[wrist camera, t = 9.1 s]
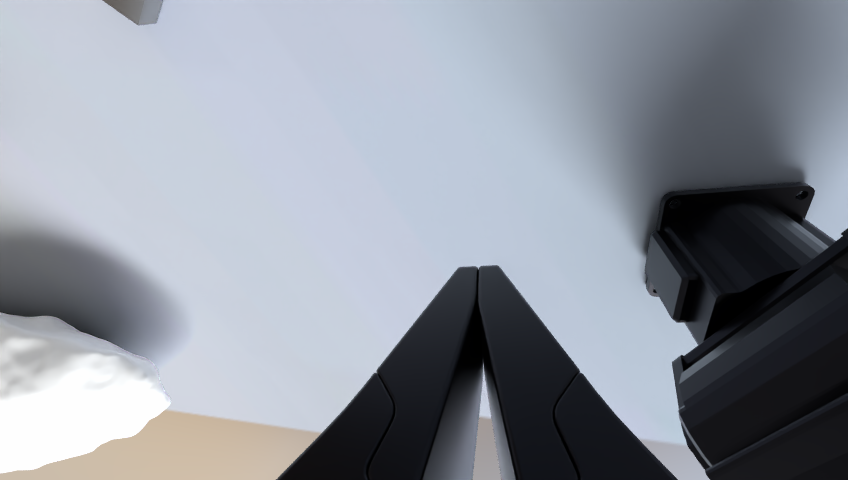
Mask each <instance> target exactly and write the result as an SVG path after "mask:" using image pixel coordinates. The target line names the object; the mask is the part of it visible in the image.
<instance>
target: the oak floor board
mask: <svg viewBox="0 0 848 480" xmlns="http://www.w3.org/2000/svg"><path fill="white" fill-rule="evenodd" d="M103 1H104V2H106V3H107V4H108V5H110V6H111V7H113V8H114V9H116V10H117V11H118V12H120V13H121V14H123V15H124V16H125V17H127V18H128V19H130V20H131V21H133V22H134V23H135V24H137V25H146V24H155V23H157V19H158V16H159V12H160V9H161V5H162V2H163V0H103Z"/></svg>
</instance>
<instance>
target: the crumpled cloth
mask: <svg viewBox="0 0 848 480" xmlns="http://www.w3.org/2000/svg"><path fill="white" fill-rule="evenodd" d="M170 404H171V398H170V396H169V395H168V393H167V392H166V391H165V389H164V387H163V385H162V384H161V382H160V376H159V372H158V369H157V367H156V366H155V365H154V363H153V362H152V361H150V360H149V359H147V358H145V357H142V356H139V355H135V354H132V353H130V352H128V351H127V350H124V349H122V348H120V347H119V346H117V345H115V344H113V343H111V342H109V341H106V340H103V339H100V338H97V337H95V336H92V335H90V334H87V333H83V332H80V331H79V330H77V329H76V328H74V327H73V326H71V325H69V324H67V323H66V322H64V321H63V320H61V319H59V318H57V317H53V316H37V317H23V316H17V315H9V314H5V313H0V473H5V472H11V471H15V470H32V469H37V468H39V467H41V466H43V465H45V464H47V463H51V462H55V461H60V460H63V459H67V458H71V457H75V456H79V455H83V454H86V453H90V452H92V451H94V450H95V449H96V448H97V447H98V446H99V445H100V444H103V443H106V442H108V441H109V440H111V439H119V438H127V437H131V436H133V435H135V434H137V433H138V432H139V431H140V430H141V429H142V428H143V427H144V426H145V425H146V423H147V422H148V421H149V419H151V418H154V417H156V416H158V415H159V414H160V413H161V412H162V411H164V410H165V409H166V408H167V407H168V406H169V405H170Z"/></svg>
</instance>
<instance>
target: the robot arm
mask: <svg viewBox="0 0 848 480" xmlns="http://www.w3.org/2000/svg"><path fill="white" fill-rule="evenodd" d="M800 191H803V192H802V193H801V194H800V195H798V196H796V195H797V193H799V192H800ZM814 193H815V190H814V188H812V187H811V186H809V185H808V184H806V183H802V182H797V183H784V184H770V185H757V186H743V187H730V188H717V189H703V190H690V191H676V192H670V193H668V194H666V195H665V196H664V197H663V198H662V201H661V206H660V211H659V217H658V222H657V228H656V231H654V232H653V233H652V234H651V237H650V242H649V248H648V254H647V260H646V266H645V273H646V274H647V276H648V278H647V284H646V289H647V291H648V292H649V294H650V295H652V296H655V297H660V299H661V301H662V302H663V304H664V306H665V308H666V309H667V311H668V313H669V315H670V316H671V318H672V319H673V320H674V321H676V322H685V324H686V326H687V327H688V329H689V331H690V332H691V334H692V336H693V337H694V339H695V341H696V342H697V344H698V346H697V347H695V348H694V349H693V350H692V351H690V352H689V353H688V354H686V355H685V356H683V355H681V356H679V357H678V358H677V359H675V360H674V361H673V362H672V366H673V373H674V380H675V386H676V393H677V399H678V406H679V418H680V421H681V426H682V429H683V433H684V436H685V438H686V442H687V445H688V447H689V449H690V450H691V451H692V452H693V454H694V455H695V457H696V458H697V460H698V461H699V462H700V464H701V465H702V467H703V468H704V469H705V472H706V475H707V476H708V478H709V479H710V480H848V229H846V230H845V231H844V232H842V233H841V235H843V236H842V237H841V238H840V239H838V240H837V241H835V240H833V239H832V238H831V237H829V236H828V235H826V234H825V233H824V232H822V231H821V230H819V229H818V228H817V227H815V226H814V225H813V224H811V223H810V222H808V221H807V220H806V219H805V216H806V214H807V211H808V209H809V206H810V204H811V201H812V199H813V196H814ZM673 200H677V202H676V203H675V204H673V205H670V203H671V202H672V201H673ZM654 288H655V289H654ZM483 363H484V372H485V380H486V387H487V393H488V399H489V406H490V412H491V418H492V424H493V430H494V437H495V443H496V449H497V455H498V461H499V468H500V474H501V480H678V479H677V478H676V477H675V476H674V475H673V474H672V473H671V472H670V471H669V470H668V469H667V468H666V467H665V466H664V465H663V464H662V463H661V462H660V461H659V460H658V459H657V458H656V457H655V456H654V455H653V454H652V453H651V452H650V451H649V450H648V449H647V448H646V447H645V446H644V445H643V444H642V442H641V441H640V440H639V439H638V438H637V437H636V436H635V435H634V434H633V433H632V432H631V431H630V430H629V428H628V427H627V426H626V425H625V424H624V423H623V422H622V421H621V420H620V419H619V418H618V417H617V416H616V414H615V413H614V412H613V411H612V410H611V408H610V407H609V406H608V405H607V404H606V402H605V401H604V400H603V399H602V398H601V396H600V395H599V394H598V393H597V392H596V390H595V389H594V388H593V386H592V385H591V384H590V383H589V381H588V380H587V379H586V377H585V376H584V375H583V374H582V373H580V370H579V369H578V367H577V366H576V365H575V364H574V362H573V361H572V360H571V358H570V357H569V356H568V354H567V353H566V352H565V351H564V349H563V348H562V347H561V345H560V344H559V343H558V342H557V340H556V339H555V338H554V336H553V335H552V334H551V333H550V331H549V330H548V329H547V327H546V326H545V325H544V324H543V322H542V321H541V320H540V318H539V317H538V316H537V315H536V313H535V312H534V311H533V309H532V308H531V307H530V305H529V304H528V303H527V302H526V300H525V299H524V298H523V296H522V295H521V294H520V293H519V291H518V290H517V289H516V287H515V286H514V285H513V284H512V282H511V281H510V280H509V278H508V277H507V276H506V275H505V273H504V272H503V271H502V269H501V268H500V267H499V266H497V265H492V266H481V267H479V270H478V268H477V267H476V266H471V267H459V268H458V269H457V270H456V271H455V272H454V274H453V275H452V276H451V277H450V279H449V280H448V281H447V282H446V284H445V285H444V286H443V287H442V289H441V290H440V291H439V292H438V294H437V295H436V296H435V298H434V299H433V300H432V301H431V303H430V304H429V305H428V306H427V308H426V309H425V310H424V311H423V313H422V314H421V315H420V316H419V318H418V319H417V320H416V321H415V323H414V324H413V325H412V326H411V328H410V329H409V330H408V331H407V333H406V334H405V335H404V336H403V338H402V339H401V340H400V341H399V343H398V344H397V345H396V346H395V348H394V349H393V350H392V352H391V353H390V354H389V355H388V357H387V358H386V359H385V360H384V362H383V363H382V364H381V365H380V367H379V368H378V369H377V373H374V374H373V375H372V376H371V378H370V379H369V380H368V381H367V383H366V384H365V385H364V386H363V388H362V389H361V390H360V391H359V392H358V394H357V395H356V396H355V397H354V398H353V399H352V401H351V402H350V403H349V404H348V405H347V407H346V408H345V409H344V410H343V411H342V412H341V413H340V414H339V415H338V416H337V418H336V419H335V420H334V421H333V422H332V423H331V424H330V425H329V426H328V427H327V428H326V429H325V430H324V431H323V432H322V434H321V435H320V436H319V437H318V438H317V439H316V440H315V441H314V442H313V443H312V444H311V445H310V446H309V447H308V448H307V449H306V450H305V451H304V452H303V453H302V454H301V455H300V456H299V457H298V458H297V459H296V460H295V461H294V462H293V463H292V464H291V465H290V466H289V467H288V468H287V469H286V470H285V471H284V472H283V473H282V474H281V475H280V476H279V477H278V479H276V480H472V478H473V469H474V459H475V458H474V457H475V449H476V439H477V430H478V420H479V410H480V400H481V391H482V381H483Z"/></svg>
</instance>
